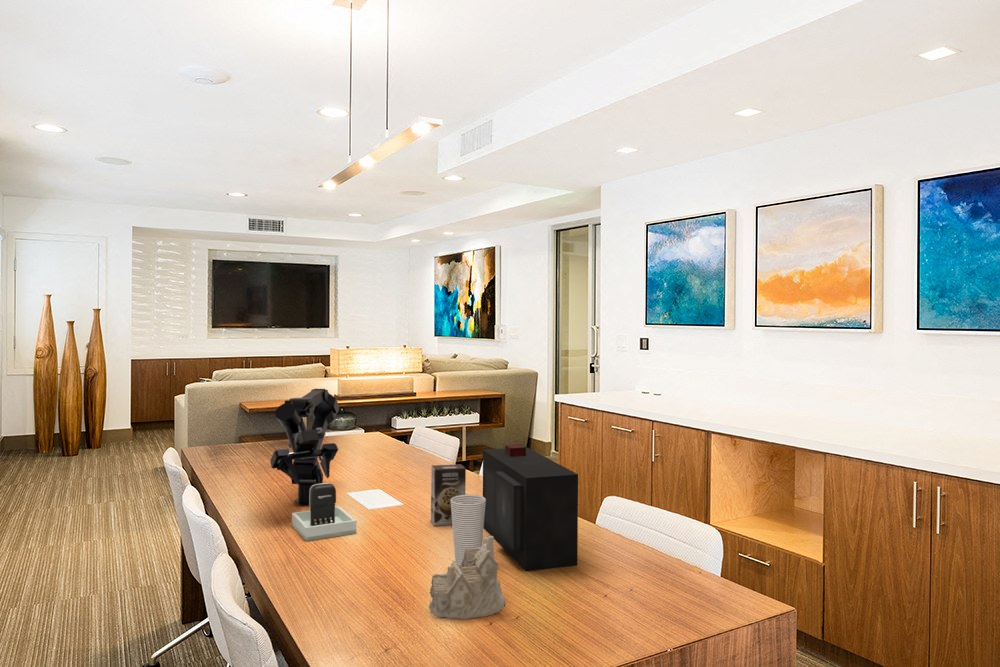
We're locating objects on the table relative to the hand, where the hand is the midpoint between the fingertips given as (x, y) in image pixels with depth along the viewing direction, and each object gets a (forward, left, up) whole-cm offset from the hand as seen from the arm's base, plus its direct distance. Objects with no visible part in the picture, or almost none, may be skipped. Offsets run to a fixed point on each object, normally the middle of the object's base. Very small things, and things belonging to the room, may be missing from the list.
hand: (313, 479), depth 194 cm
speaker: (+45, +42, -13) cm, 63 cm away
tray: (+8, +1, -12) cm, 14 cm away
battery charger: (+8, +1, -11) cm, 14 cm away
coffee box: (+18, +34, -12) cm, 40 cm away
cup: (+50, +24, -12) cm, 57 cm away
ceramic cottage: (+69, +14, -13) cm, 72 cm away
